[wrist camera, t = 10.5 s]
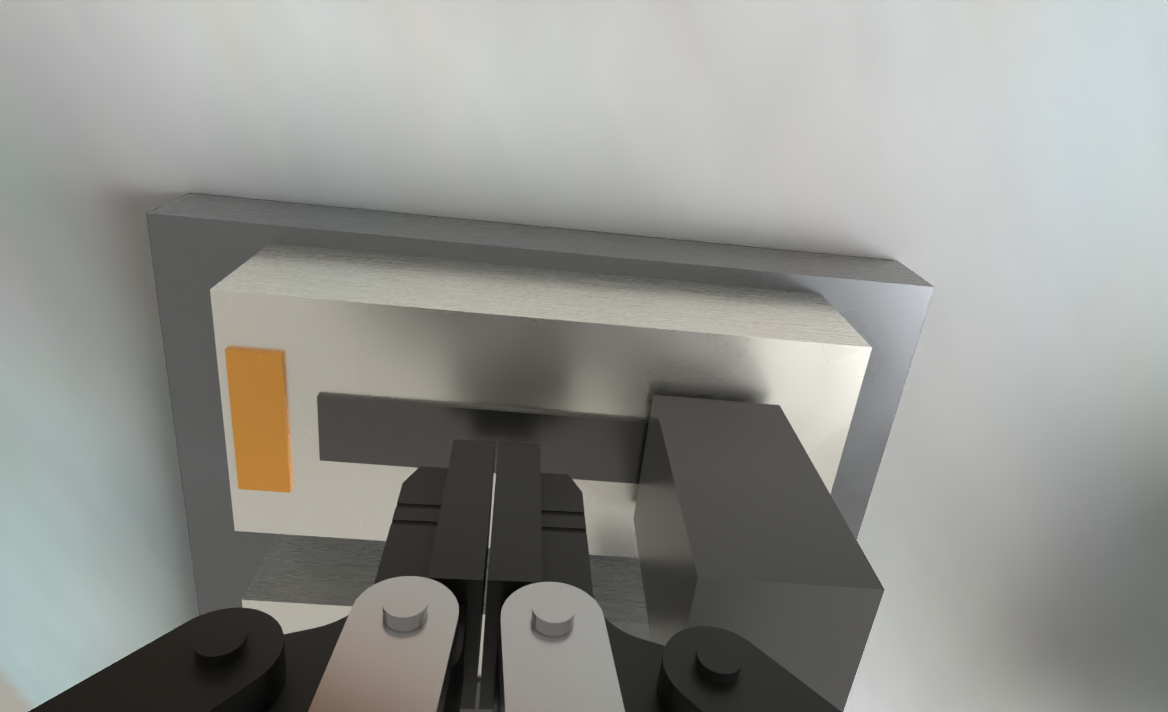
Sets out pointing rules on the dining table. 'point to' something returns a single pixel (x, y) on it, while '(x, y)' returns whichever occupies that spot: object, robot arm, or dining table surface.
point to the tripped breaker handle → (750, 541)
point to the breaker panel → (483, 376)
